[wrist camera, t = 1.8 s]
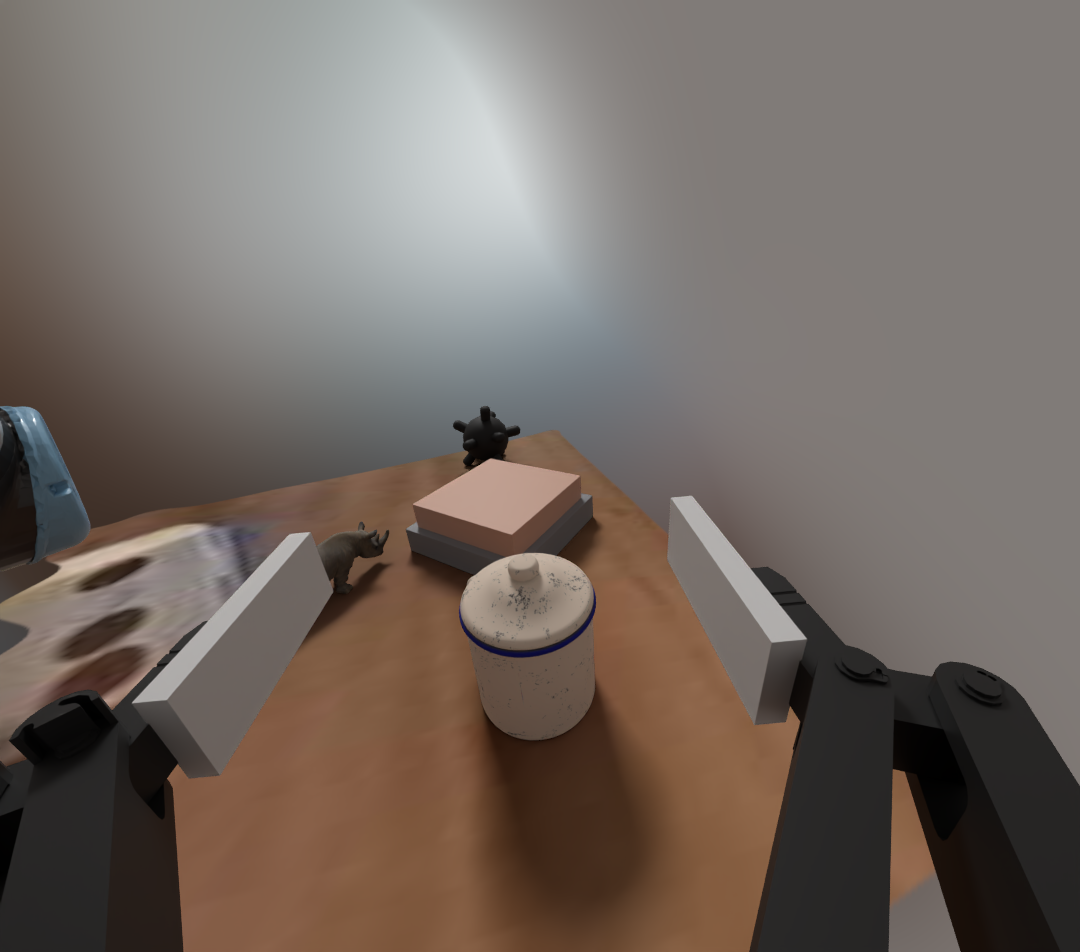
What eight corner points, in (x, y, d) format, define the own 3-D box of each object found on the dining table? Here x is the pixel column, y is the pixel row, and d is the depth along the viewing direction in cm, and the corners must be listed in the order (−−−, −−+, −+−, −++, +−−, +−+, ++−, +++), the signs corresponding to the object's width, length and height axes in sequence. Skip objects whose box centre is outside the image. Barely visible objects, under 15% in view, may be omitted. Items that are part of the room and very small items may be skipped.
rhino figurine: (406, 558, 48) (394, 513, 45) (284, 636, 38) (260, 585, 35) (386, 547, 50) (373, 504, 47) (265, 619, 40) (241, 570, 38)
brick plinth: (411, 550, 49) (399, 506, 46) (494, 492, 61) (489, 454, 58) (520, 593, 40) (514, 542, 38) (592, 516, 52) (591, 473, 50)
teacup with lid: (623, 683, 31) (624, 556, 26) (533, 778, 25) (513, 641, 20) (519, 606, 39) (505, 498, 34) (435, 666, 33) (403, 548, 28)
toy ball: (506, 427, 78) (541, 425, 68) (482, 477, 76) (514, 482, 66) (460, 397, 72) (489, 389, 62) (432, 450, 70) (459, 451, 60)
